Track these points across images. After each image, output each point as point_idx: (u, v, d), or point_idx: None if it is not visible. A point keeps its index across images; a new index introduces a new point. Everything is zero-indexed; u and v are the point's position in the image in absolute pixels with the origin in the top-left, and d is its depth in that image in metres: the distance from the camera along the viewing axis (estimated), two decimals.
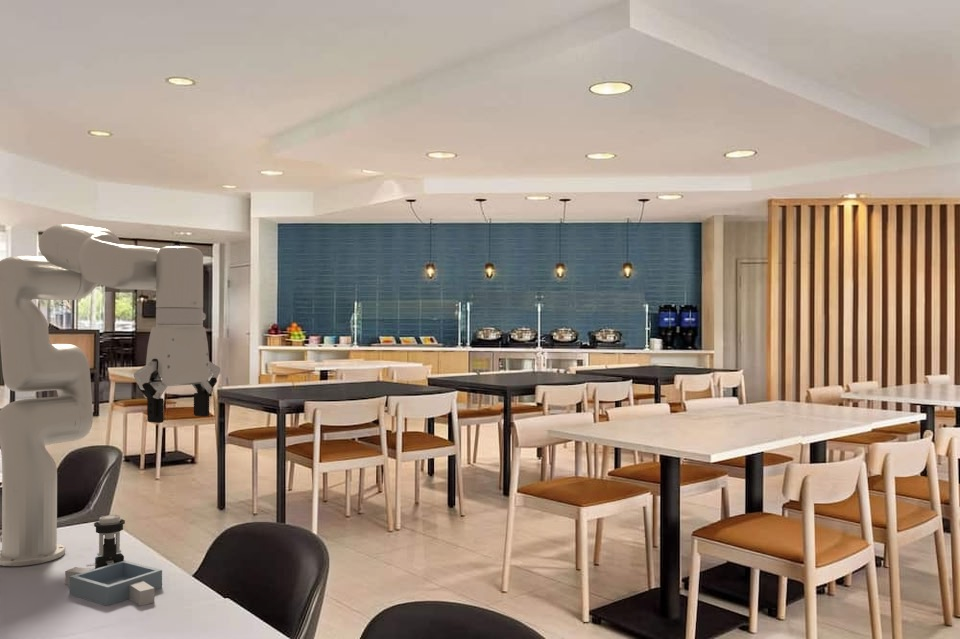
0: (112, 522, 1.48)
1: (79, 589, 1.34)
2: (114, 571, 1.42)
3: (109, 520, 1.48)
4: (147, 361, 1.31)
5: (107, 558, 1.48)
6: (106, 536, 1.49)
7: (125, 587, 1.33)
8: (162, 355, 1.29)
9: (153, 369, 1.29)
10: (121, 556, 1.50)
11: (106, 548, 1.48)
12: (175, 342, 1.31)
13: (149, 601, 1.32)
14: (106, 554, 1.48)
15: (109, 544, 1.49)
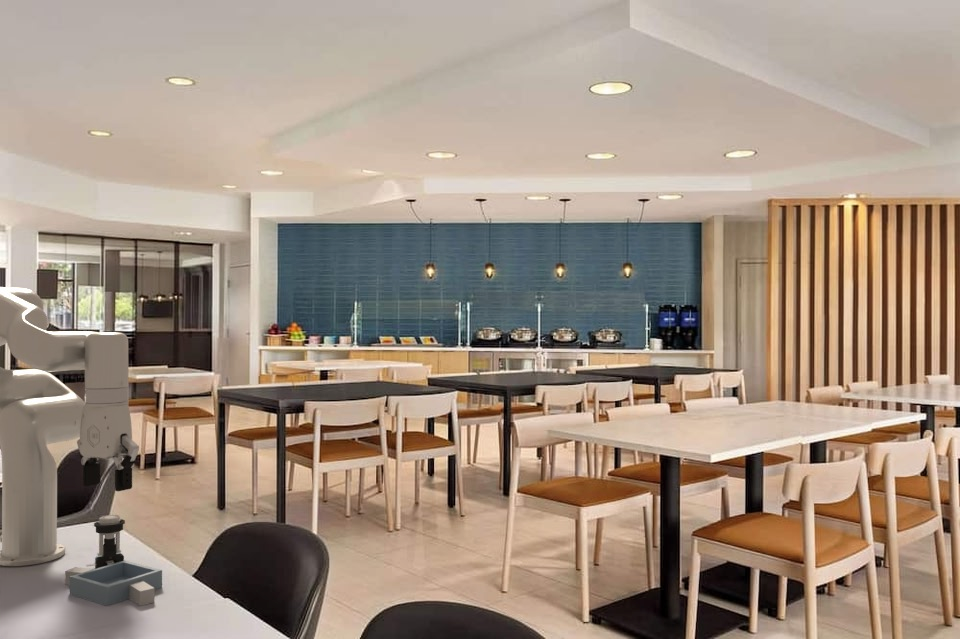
0: (112, 522, 1.48)
1: (79, 589, 1.34)
2: (114, 571, 1.42)
3: (109, 520, 1.48)
4: (114, 437, 1.45)
5: (107, 558, 1.48)
6: (106, 536, 1.49)
7: (125, 587, 1.33)
8: (130, 429, 1.48)
9: None
10: (121, 556, 1.50)
11: (106, 548, 1.48)
12: None
13: (149, 601, 1.32)
14: (106, 554, 1.48)
15: (109, 544, 1.49)
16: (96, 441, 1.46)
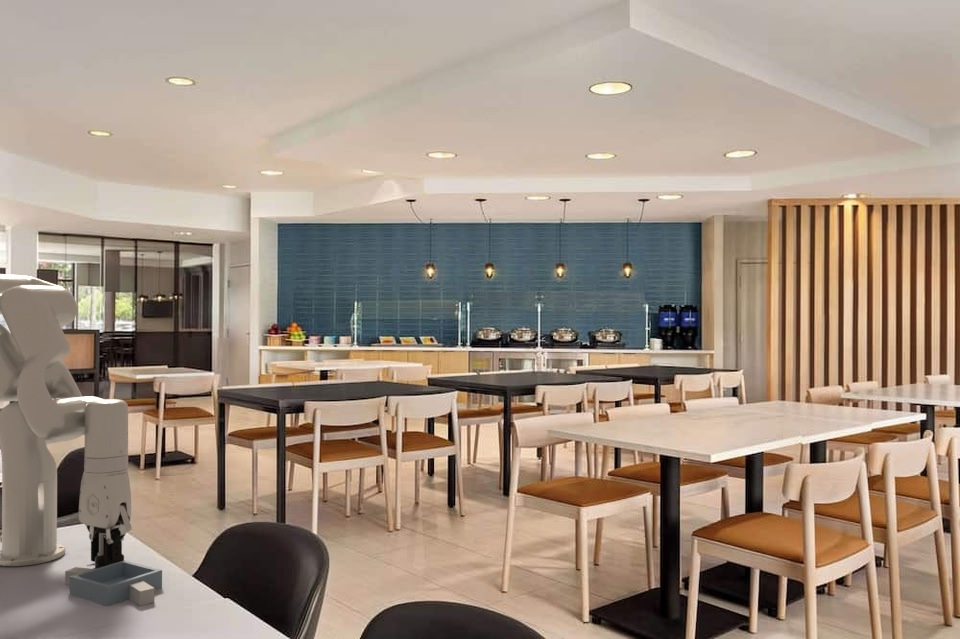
0: None
1: (79, 589, 1.34)
2: (114, 571, 1.42)
3: None
4: (113, 507, 1.45)
5: None
6: (106, 536, 1.49)
7: (125, 587, 1.33)
8: (129, 498, 1.48)
9: None
10: None
11: None
12: None
13: (149, 601, 1.32)
14: None
15: None
16: (95, 510, 1.46)
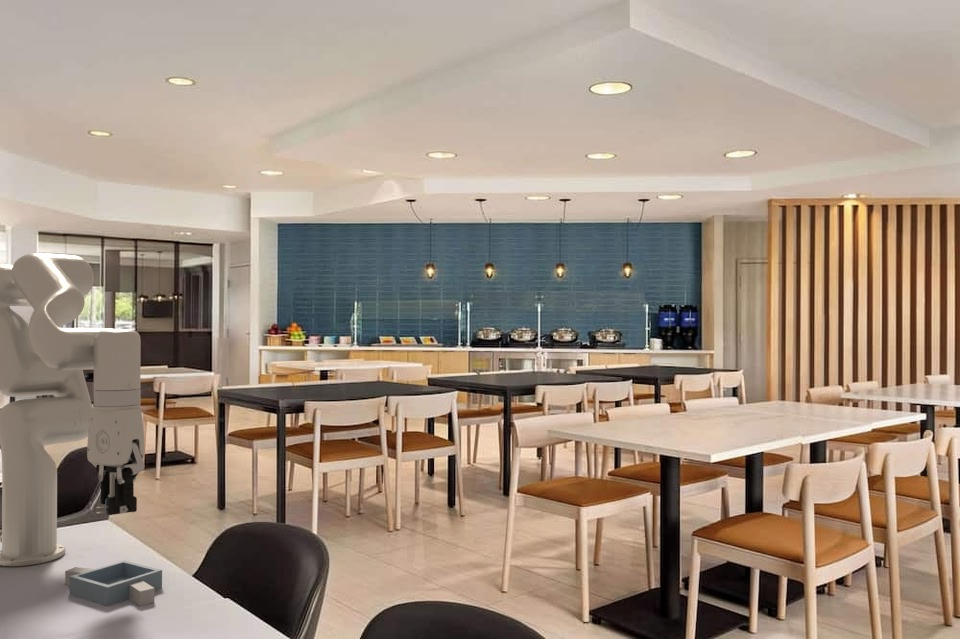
0: None
1: (79, 589, 1.34)
2: (114, 571, 1.42)
3: None
4: (125, 443, 1.34)
5: None
6: None
7: (125, 587, 1.33)
8: (142, 435, 1.37)
9: None
10: (134, 498, 1.39)
11: None
12: None
13: (149, 601, 1.32)
14: None
15: None
16: (105, 447, 1.35)
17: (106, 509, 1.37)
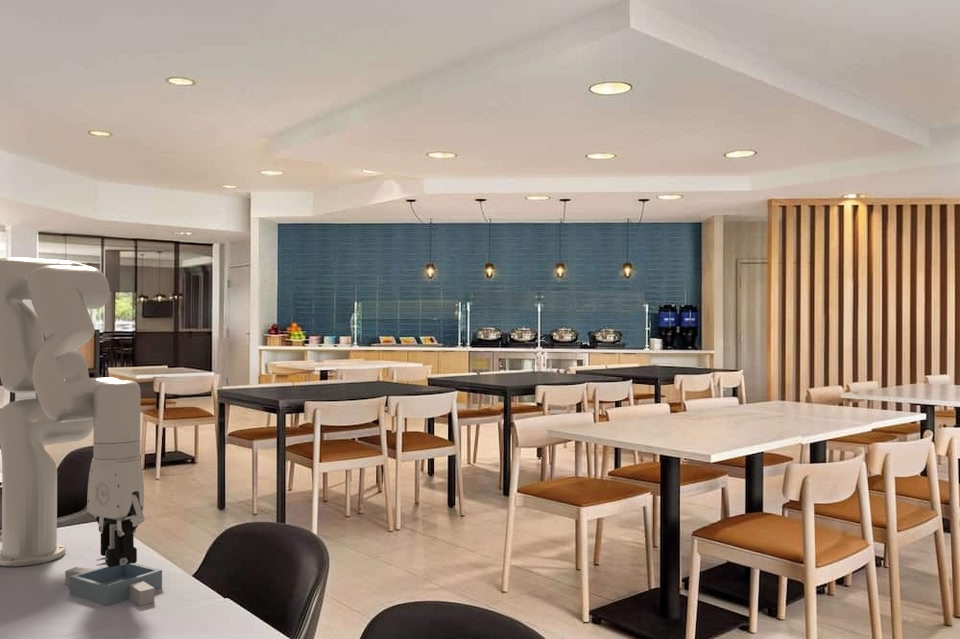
0: None
1: (79, 589, 1.34)
2: (114, 571, 1.42)
3: None
4: (125, 496, 1.34)
5: None
6: None
7: (125, 587, 1.33)
8: (142, 486, 1.37)
9: None
10: (134, 549, 1.39)
11: None
12: None
13: (149, 601, 1.32)
14: None
15: None
16: (105, 500, 1.35)
17: (106, 561, 1.37)
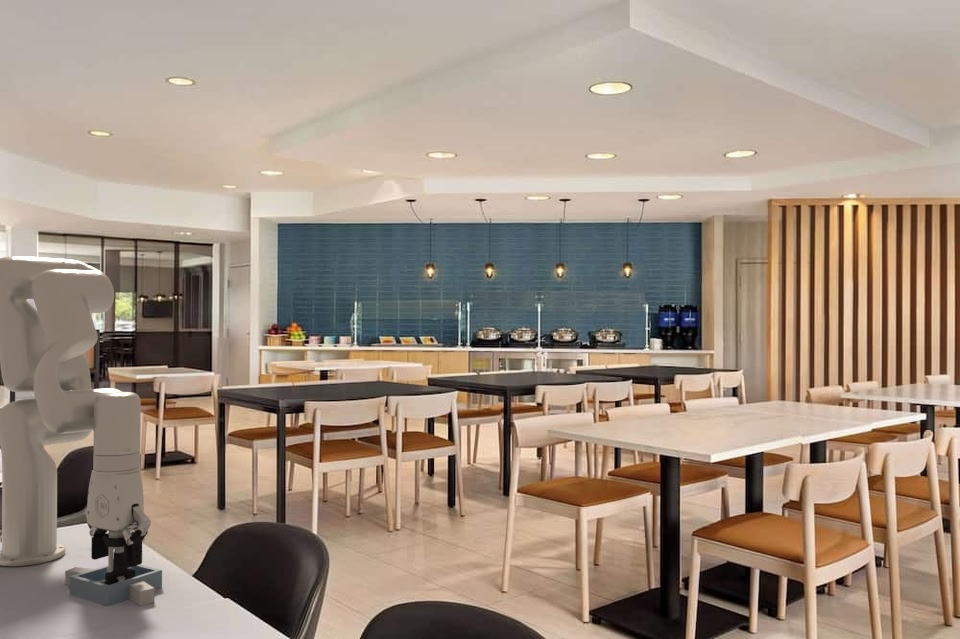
0: (123, 535, 1.37)
1: (79, 589, 1.34)
2: None
3: (120, 532, 1.37)
4: (125, 508, 1.34)
5: (118, 573, 1.37)
6: (116, 550, 1.38)
7: (125, 587, 1.33)
8: (142, 499, 1.37)
9: None
10: (132, 571, 1.39)
11: (116, 562, 1.37)
12: None
13: (149, 601, 1.32)
14: (117, 569, 1.37)
15: (120, 558, 1.38)
16: (105, 512, 1.35)
17: (105, 583, 1.37)
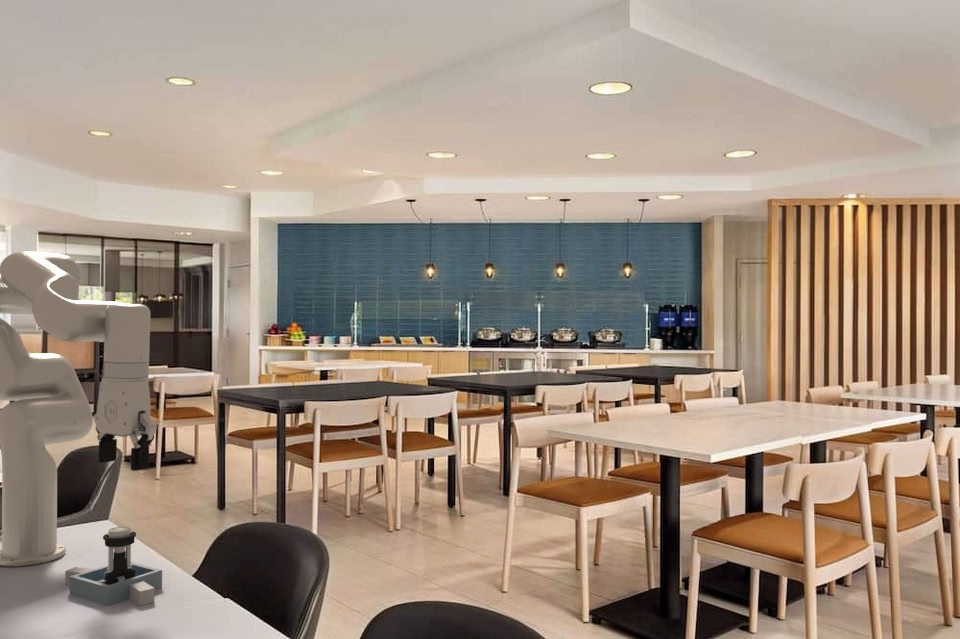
0: (123, 535, 1.37)
1: (79, 589, 1.34)
2: None
3: (120, 532, 1.37)
4: (132, 414, 1.38)
5: (118, 573, 1.37)
6: (116, 550, 1.38)
7: (125, 587, 1.33)
8: (148, 407, 1.41)
9: None
10: (132, 571, 1.39)
11: (116, 562, 1.37)
12: None
13: (149, 601, 1.32)
14: (117, 569, 1.37)
15: (120, 558, 1.38)
16: (113, 417, 1.40)
17: (105, 583, 1.37)
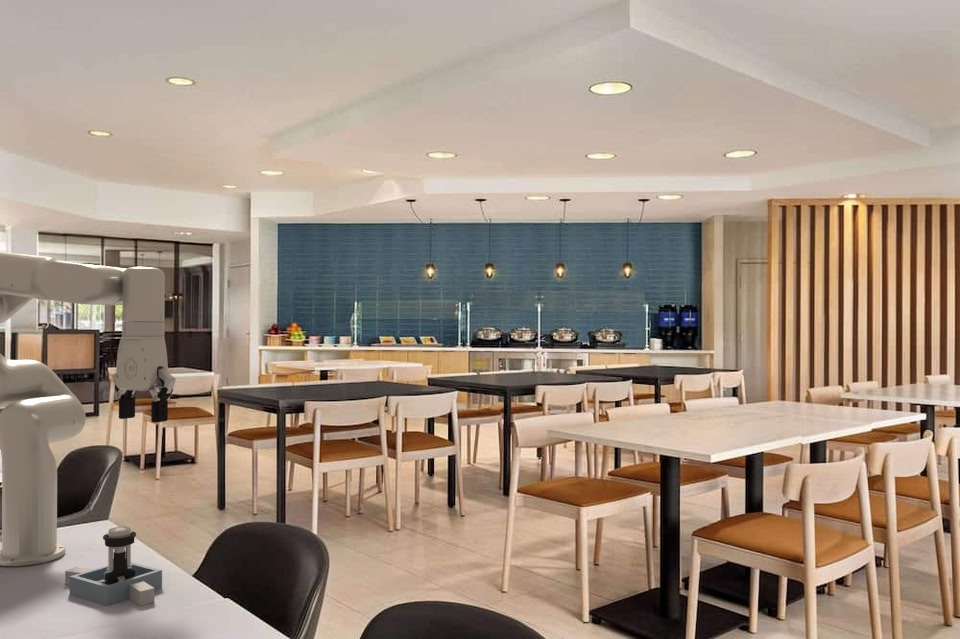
0: (123, 535, 1.37)
1: (79, 589, 1.34)
2: None
3: (120, 532, 1.37)
4: (151, 369, 1.47)
5: (118, 573, 1.37)
6: (116, 550, 1.38)
7: (125, 587, 1.33)
8: (166, 363, 1.50)
9: None
10: (132, 571, 1.39)
11: (116, 562, 1.37)
12: None
13: (149, 601, 1.32)
14: (117, 569, 1.37)
15: (120, 558, 1.38)
16: (132, 373, 1.49)
17: (105, 583, 1.37)
